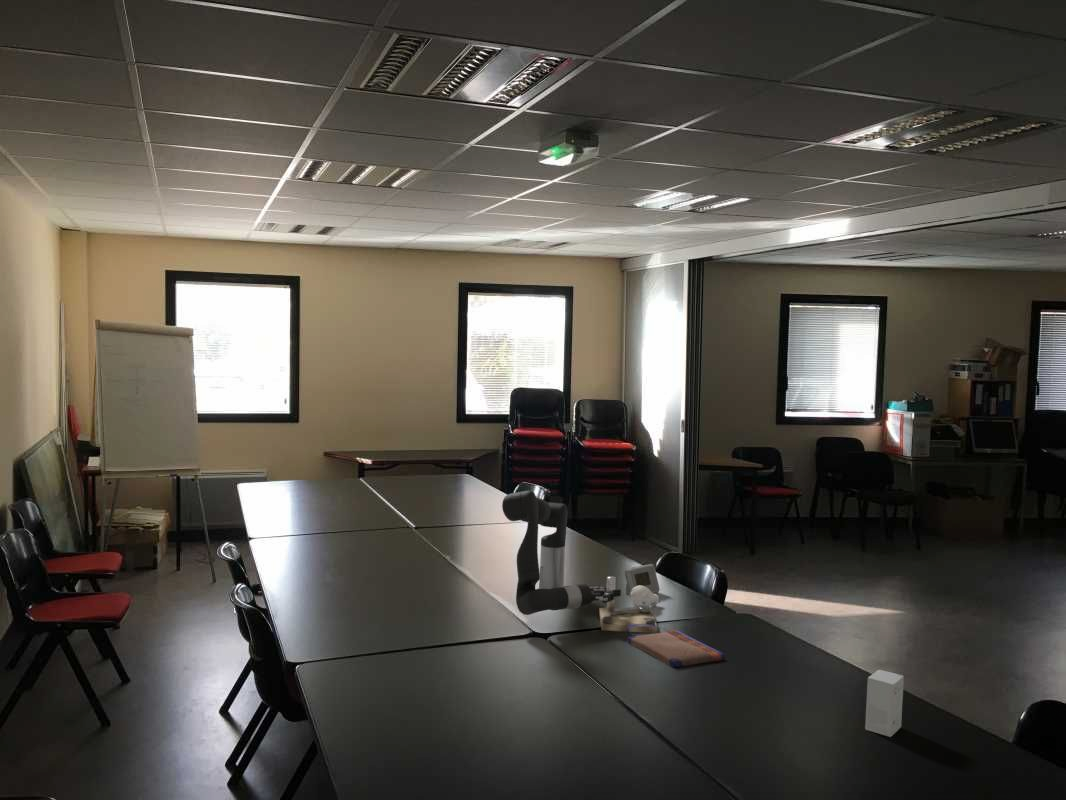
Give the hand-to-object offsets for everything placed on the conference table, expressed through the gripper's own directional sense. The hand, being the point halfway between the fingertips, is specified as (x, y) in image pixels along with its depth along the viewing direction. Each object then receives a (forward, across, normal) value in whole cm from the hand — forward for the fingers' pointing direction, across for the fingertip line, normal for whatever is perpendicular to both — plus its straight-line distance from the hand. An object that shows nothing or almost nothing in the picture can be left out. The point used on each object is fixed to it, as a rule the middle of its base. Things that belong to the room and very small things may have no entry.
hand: (616, 591), depth 288 cm
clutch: (-1, -30, +11) cm, 32 cm away
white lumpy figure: (+19, +8, +10) cm, 23 cm away
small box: (+9, -98, +11) cm, 99 cm away
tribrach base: (+2, -4, +10) cm, 11 cm away
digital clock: (+28, +22, +10) cm, 37 cm away
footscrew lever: (+4, -1, +7) cm, 9 cm away
